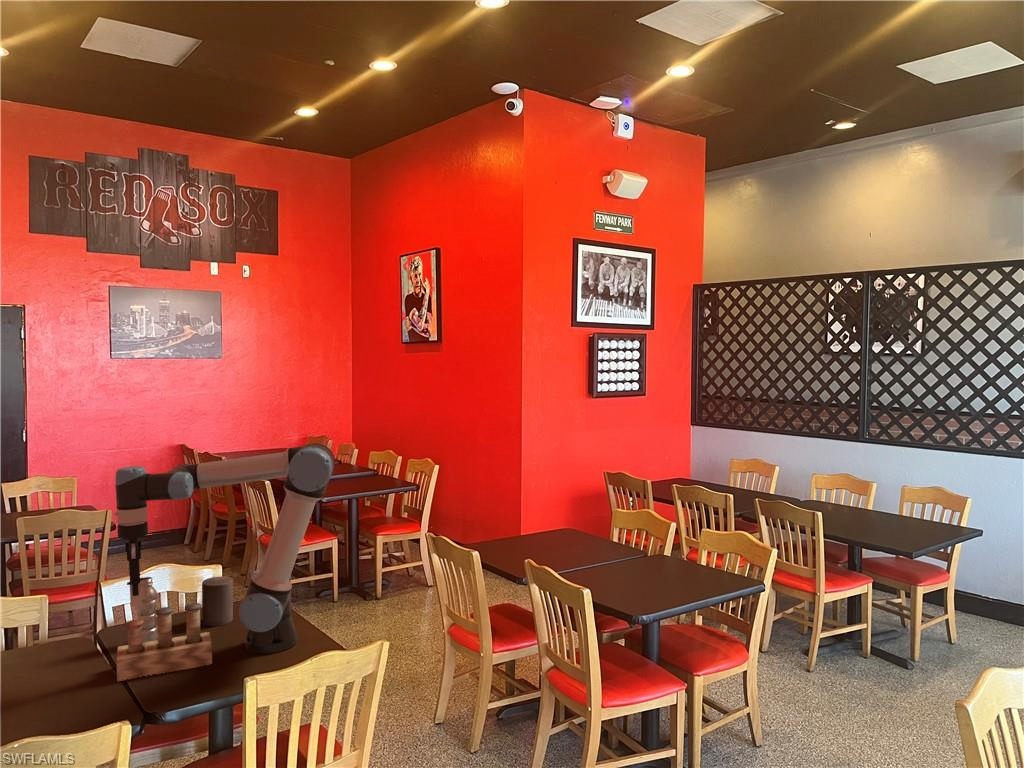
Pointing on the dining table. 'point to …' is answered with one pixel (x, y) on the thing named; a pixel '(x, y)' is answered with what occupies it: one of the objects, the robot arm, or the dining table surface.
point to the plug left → (193, 622)
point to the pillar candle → (217, 601)
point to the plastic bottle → (148, 610)
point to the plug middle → (164, 627)
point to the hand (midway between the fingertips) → (136, 605)
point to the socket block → (164, 657)
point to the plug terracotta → (135, 636)
